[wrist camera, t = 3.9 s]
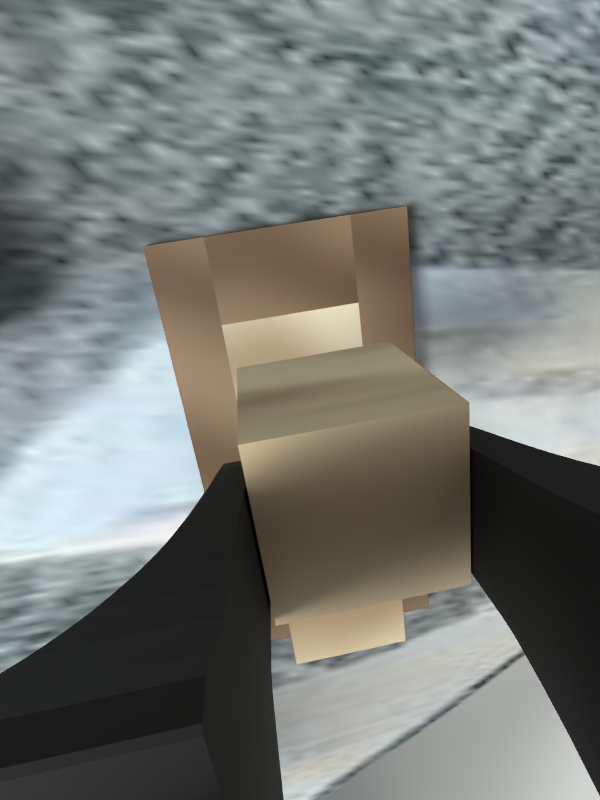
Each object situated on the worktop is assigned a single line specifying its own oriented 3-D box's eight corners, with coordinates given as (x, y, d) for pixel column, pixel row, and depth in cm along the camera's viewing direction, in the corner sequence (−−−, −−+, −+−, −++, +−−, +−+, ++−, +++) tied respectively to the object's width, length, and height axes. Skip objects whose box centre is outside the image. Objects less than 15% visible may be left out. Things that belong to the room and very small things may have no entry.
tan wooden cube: (399, 474, 14) (471, 584, 10) (263, 501, 13) (275, 625, 9) (389, 341, 12) (469, 402, 8) (237, 368, 12) (237, 445, 8)
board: (424, 597, 23) (428, 606, 23) (243, 636, 23) (243, 646, 22) (401, 206, 17) (407, 206, 16) (146, 245, 16) (143, 246, 16)
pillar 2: (371, 558, 21) (405, 640, 17) (284, 577, 21) (296, 664, 17) (363, 482, 20) (398, 551, 16) (269, 500, 20) (279, 576, 15)
